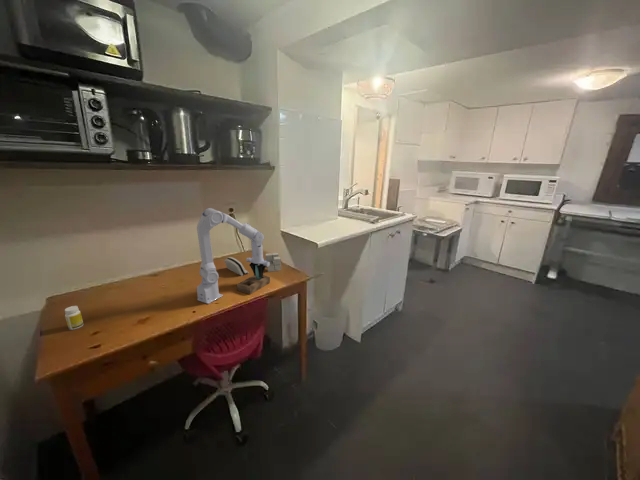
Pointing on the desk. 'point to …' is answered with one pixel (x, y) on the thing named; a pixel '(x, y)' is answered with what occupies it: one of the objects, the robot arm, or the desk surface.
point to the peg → (257, 273)
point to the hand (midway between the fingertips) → (258, 276)
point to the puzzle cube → (273, 262)
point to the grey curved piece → (235, 266)
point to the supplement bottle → (73, 317)
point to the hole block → (253, 284)
